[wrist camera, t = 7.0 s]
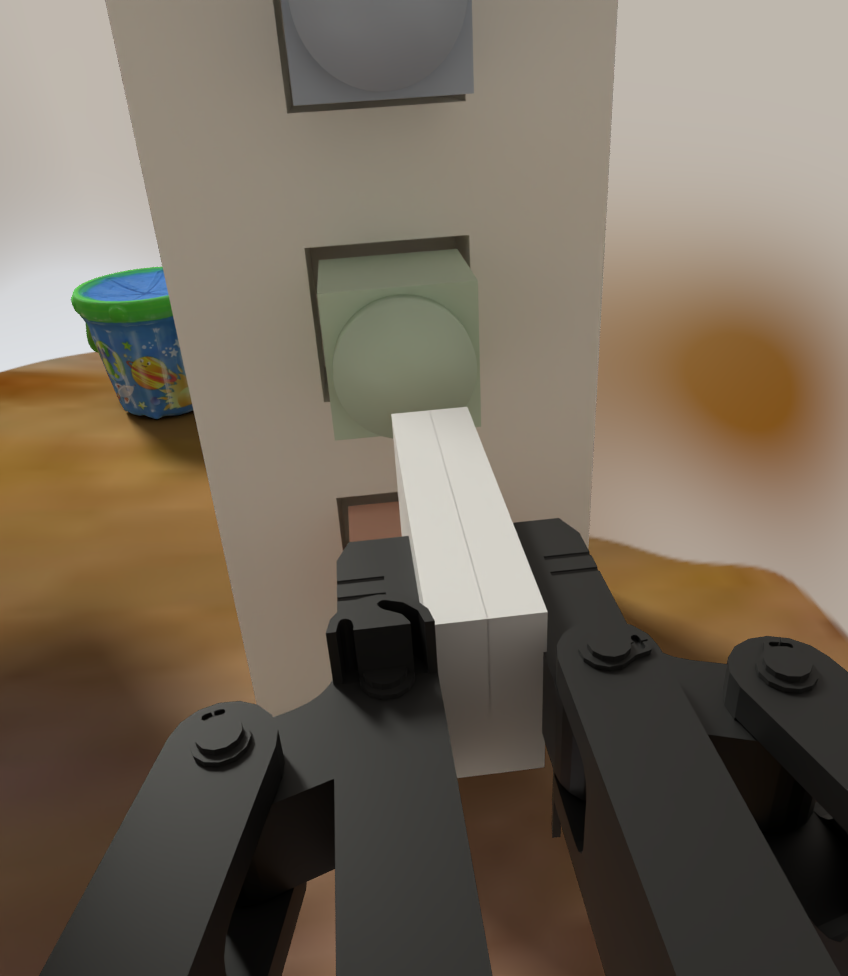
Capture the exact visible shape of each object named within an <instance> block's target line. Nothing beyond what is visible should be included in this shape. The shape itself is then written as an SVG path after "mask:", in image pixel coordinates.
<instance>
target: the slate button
mask: <svg viewBox="0 0 848 976" xmlns="http://www.w3.org/2000/svg"><path fill="white" fill-rule="evenodd" d="M281 7H282V16H283V24H284V32H285V40H286V48H287V56H288V64H289V72H290V81H291V89H292V97H293V105H294V106H297V105H311V104H326V103H341V102H355V101H370V100H384V99H399V98H414V97H428V96H443V95H457V94H472V93H474V75H473V31H472V0H281Z"/></svg>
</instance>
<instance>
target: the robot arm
mask: <svg viewBox="0 0 848 976" xmlns="http://www.w3.org/2000/svg"><path fill="white" fill-rule="evenodd" d="M391 417H392V429H393V440H394V452H395V464H396V475H397V487H398V499H399V510H400V522H401V533H402V537H393V538H383V539H374V540H365V541H355V542H349V543H348V544H347V546H346V547H345V549H344V550H343V552H342V553H341V555H340V556H339V558H338V560H337V613H336V614H335V615H334V616H333V617H332V618H331V619H330V621H329V624H328V627H327V630H326V639H327V646H328V652H329V659H330V666H331V672H332V681H331V683H330V684H329V685H328V687H327V688H326V689H325V690H324V691H323V692H322V693H321V694H320V695H318V696H317V697H316V698H314V699H313V700H312V701H310V702H309V703H307V704H304V705H302V706H300V707H298V708H296V709H294V710H291V711H289V712H286V713H283V714H281V715H278V716H275V717H273V716H272V714H270V713H269V712H267V711H266V710H265V709H263V708H262V707H260V706H259V705H256V704H251V703H246V702H242V701H236V702H225V703H218V704H215V705H212V706H209V707H207V708H204V709H201V710H198V711H197V712H195V713H194V714H193V715H191V716H190V717H188V718H187V719H185V720H184V721H182V722H181V723H180V724H179V725H178V726H177V728H176V729H175V730H174V731H173V733H172V734H171V735H170V736H169V738H168V739H167V741H166V743H165V744H164V746H163V748H162V750H161V752H160V754H159V756H158V757H157V759H156V761H155V763H154V765H153V767H152V768H151V770H150V772H149V774H148V776H147V778H146V779H145V781H144V783H143V785H142V787H141V789H140V791H139V792H138V794H137V796H136V798H135V800H134V802H133V803H132V805H131V807H130V809H129V811H128V813H127V815H126V816H125V818H124V820H123V822H122V824H121V826H120V827H119V829H118V831H117V833H116V835H115V837H114V838H113V840H112V842H111V844H110V846H109V848H108V850H107V851H106V853H105V855H104V857H103V859H102V861H101V862H100V864H99V866H98V868H97V870H96V872H95V873H94V875H93V877H92V879H91V881H90V883H89V885H88V886H87V888H86V890H85V892H84V894H83V896H82V897H81V899H80V901H79V903H78V905H77V907H76V908H75V910H74V912H73V914H72V916H71V918H70V920H69V921H68V923H67V925H66V927H65V929H64V931H63V932H62V934H61V936H60V938H59V940H58V942H57V943H56V945H55V947H54V949H53V951H52V953H51V955H50V956H49V958H48V960H47V962H46V964H45V966H44V967H43V969H42V971H41V973H40V975H39V976H282V972H283V969H284V965H285V962H286V958H287V955H288V951H289V947H290V944H291V940H292V937H293V933H294V930H295V926H296V923H297V919H298V916H299V912H300V909H301V905H302V902H303V898H304V894H305V891H306V882H307V881H309V880H311V879H314V878H316V877H318V876H320V875H322V874H324V873H327V872H329V871H331V870H333V869H335V910H336V976H492V971H491V965H490V960H489V954H488V948H487V943H486V937H485V932H484V926H483V920H482V915H481V909H480V904H479V898H478V893H477V887H476V881H475V876H474V870H473V865H472V859H471V854H470V848H469V842H468V837H467V831H466V826H465V820H464V814H463V809H462V803H461V798H460V792H459V787H458V781H457V778H463V777H471V776H479V775H487V774H495V773H503V772H510V771H518V770H526V769H534V768H542V767H544V763H545V744H546V747H547V750H548V753H549V757H550V760H551V763H552V766H553V792H552V838H554V837H560V834H561V827H562V830H563V833H564V837H565V840H566V843H567V847H568V850H569V854H570V857H571V860H572V864H573V867H574V870H575V874H576V877H577V881H578V884H579V887H580V891H581V894H582V897H583V901H584V904H585V907H586V911H587V914H588V918H589V921H590V924H591V928H592V931H593V934H594V938H595V941H596V945H597V948H598V951H599V955H600V958H601V961H602V965H603V968H604V971H605V975H606V976H848V672H847V671H846V670H845V669H844V668H842V667H841V666H840V665H839V664H837V663H836V662H835V661H834V660H832V659H831V658H830V657H829V656H827V655H825V654H824V653H822V652H820V651H819V650H817V649H816V648H814V647H812V646H811V645H808V644H805V643H802V642H799V641H796V640H793V639H790V638H781V637H771V636H765V637H758V638H751V639H748V640H746V641H744V642H742V643H740V644H738V645H737V646H735V647H734V649H733V650H732V652H731V654H730V655H729V657H728V661H727V664H721V663H712V662H703V661H695V660H688V659H683V658H677V657H673V656H670V655H667V654H664V653H662V651H661V649H660V648H659V646H658V645H657V644H656V643H655V641H654V640H653V639H652V638H651V637H650V636H649V635H648V634H647V633H645V632H643V631H641V630H640V629H638V628H636V627H634V626H633V625H629V624H627V623H626V621H625V619H624V617H623V615H622V613H621V611H620V609H619V607H618V605H617V604H616V602H615V600H614V598H613V596H612V594H611V592H610V590H609V588H608V586H607V584H606V582H605V581H604V579H603V577H602V575H601V573H600V571H598V570H597V565H596V563H595V561H594V560H593V558H592V556H591V555H590V554H589V550H588V548H587V546H586V544H585V542H584V540H583V539H582V537H581V535H580V533H579V532H578V531H576V530H575V529H574V528H572V527H571V526H569V525H568V524H567V523H565V522H564V521H562V520H561V519H560V518H553V519H543V520H534V521H524V522H515V523H513V522H512V520H511V517H510V515H509V512H508V509H507V507H506V504H505V502H504V499H503V497H502V494H501V492H500V489H499V486H498V484H497V481H496V479H495V476H494V474H493V471H492V469H491V466H490V463H489V461H488V458H487V456H486V453H485V451H484V448H483V446H482V443H481V440H480V438H479V435H478V433H477V430H476V428H475V425H474V423H473V420H472V417H471V415H470V412H469V410H468V407H459V408H448V409H438V410H427V411H417V412H407V413H396V414H391Z"/></svg>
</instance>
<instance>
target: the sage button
mask: <svg viewBox="0 0 848 976" xmlns="http://www.w3.org/2000/svg"><path fill="white" fill-rule="evenodd" d="M317 299H318V307H319V315H320V323H321V332H322V340H323V348H324V356H325V364H326V372H327V380H328V388H329V397H330V405H331V413H332V421H333V429H334V437H335V441H336V440H347V439H357V438H368V437H378V436H383V437H387V438H392V439H393V429H392V417H391V414H396V413H407V412H417V411H427V410H438V409H448V408H459V407H468V410H469V412H470V415H471V417H472V420H473V423H474V425H475V427H481V396H480V352H479V308H478V280H477V278H476V277H475V275H474V274H473V272H472V271H471V269H470V268H469V266H468V265H467V263H466V261H465V260H464V258H463V257H462V255H461V254H460V252H459V251H458V249H449V250H436V251H424V252H412V253H399V254H387V255H375V256H362V257H350V258H337V259H325V260H319V263H318V282H317Z"/></svg>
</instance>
